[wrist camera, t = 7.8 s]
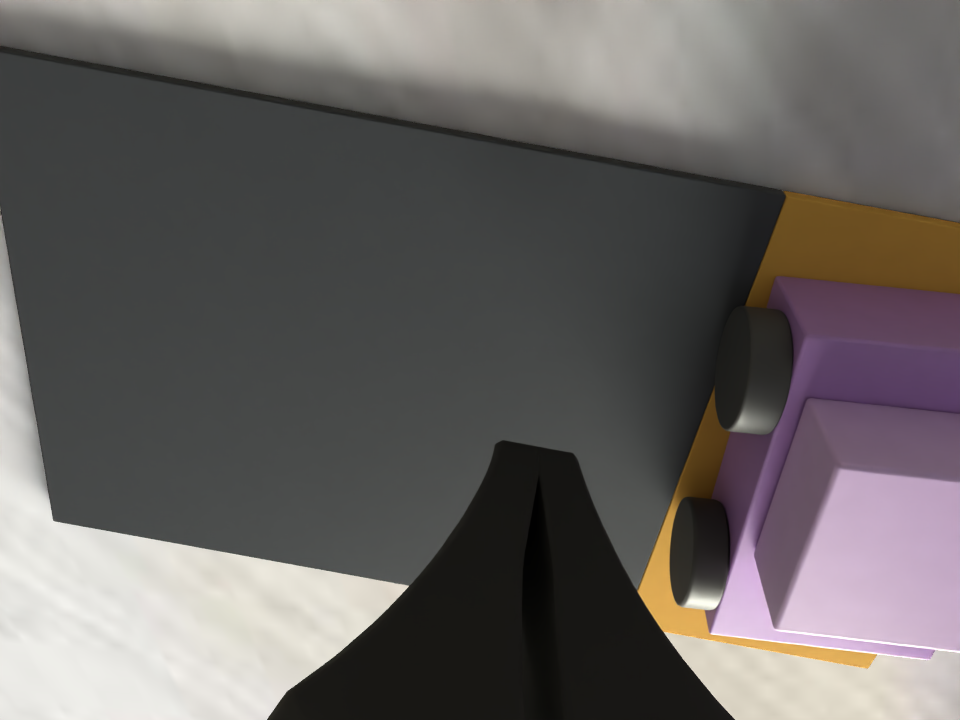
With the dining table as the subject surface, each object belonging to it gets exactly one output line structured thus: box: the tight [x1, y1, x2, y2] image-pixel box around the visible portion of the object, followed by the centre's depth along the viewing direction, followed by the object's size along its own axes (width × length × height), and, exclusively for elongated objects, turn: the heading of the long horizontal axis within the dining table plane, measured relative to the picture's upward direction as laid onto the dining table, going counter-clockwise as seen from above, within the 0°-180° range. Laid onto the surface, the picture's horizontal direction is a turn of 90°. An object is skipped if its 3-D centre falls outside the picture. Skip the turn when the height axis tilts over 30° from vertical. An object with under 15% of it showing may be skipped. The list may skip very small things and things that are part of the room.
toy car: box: [670, 276, 960, 660], centre depth 14 cm, size 7×6×4 cm
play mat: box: [0, 46, 960, 668], centre depth 17 cm, size 11×20×1 cm, turn 81°
